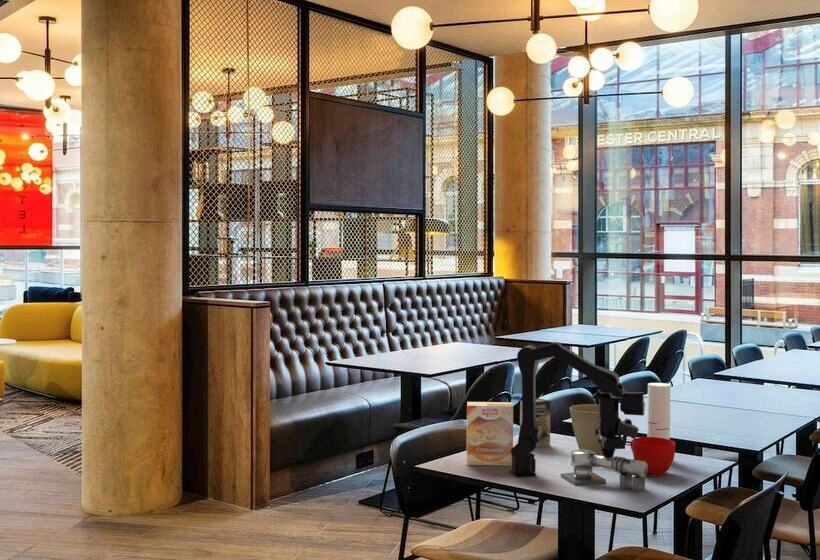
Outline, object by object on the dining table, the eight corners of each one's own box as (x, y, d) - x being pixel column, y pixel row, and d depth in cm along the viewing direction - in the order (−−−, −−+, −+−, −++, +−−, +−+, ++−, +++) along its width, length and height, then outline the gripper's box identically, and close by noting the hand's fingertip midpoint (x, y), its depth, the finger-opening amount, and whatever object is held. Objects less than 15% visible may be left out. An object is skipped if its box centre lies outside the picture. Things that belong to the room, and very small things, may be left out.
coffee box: (530, 448, 306) (530, 402, 306) (519, 445, 312) (519, 399, 311) (550, 445, 311) (551, 400, 310) (539, 442, 316) (539, 397, 316)
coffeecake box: (466, 465, 284) (466, 405, 283) (466, 459, 291) (466, 401, 290) (513, 465, 283) (513, 405, 282) (512, 460, 290) (512, 401, 289)
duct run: (616, 488, 256) (616, 458, 256) (623, 485, 260) (624, 455, 260) (640, 493, 251) (640, 462, 251) (647, 489, 255) (648, 459, 255)
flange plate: (575, 485, 260) (575, 471, 260) (560, 476, 269) (560, 463, 269) (605, 482, 262) (606, 469, 262) (590, 474, 272) (590, 461, 272)
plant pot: (612, 450, 304) (613, 404, 303) (616, 461, 289) (616, 412, 288) (568, 449, 306) (569, 403, 305) (570, 459, 291) (570, 411, 290)
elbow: (566, 466, 265) (566, 452, 265) (577, 461, 271) (577, 447, 271) (613, 474, 256) (614, 459, 256) (624, 469, 261) (624, 454, 261)
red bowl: (647, 463, 285) (647, 433, 285) (684, 476, 270) (684, 443, 270) (615, 468, 280) (615, 436, 279) (650, 480, 265) (651, 447, 264)
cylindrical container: (652, 456, 295) (653, 382, 294) (673, 459, 291) (673, 384, 290) (643, 460, 290) (644, 384, 289) (664, 463, 285) (665, 386, 284)
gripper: (643, 420, 253) (643, 473, 254) (629, 406, 272) (629, 456, 273) (604, 420, 254) (604, 474, 255) (593, 407, 272) (593, 456, 274)
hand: (609, 464), depth 264 cm, fingers closed
